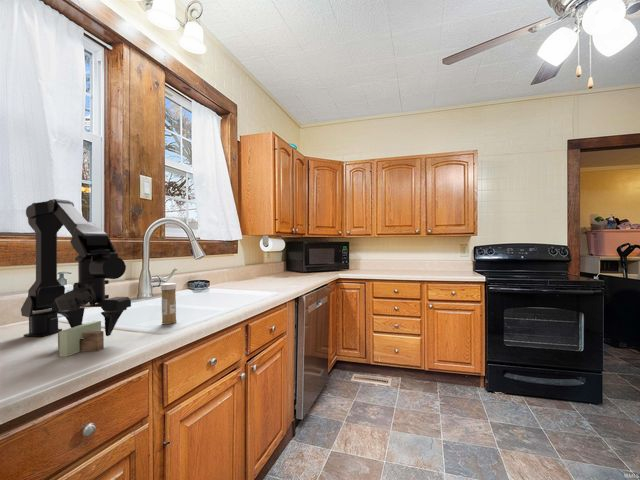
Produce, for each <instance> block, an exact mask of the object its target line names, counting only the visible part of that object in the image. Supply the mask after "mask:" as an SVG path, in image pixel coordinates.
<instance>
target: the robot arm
mask: <svg viewBox="0 0 640 480" xmlns="http://www.w3.org/2000/svg"><path fill="white" fill-rule="evenodd" d="M25 215H26V217H27V222H28V225H29V227H30V228H31V229H32V230H33V232H34V233H35V281H34V283H33V284H32V285H31V286H30V287H29V289H28V290H27V291H28V292H27V297H26V299H25V301H24V302H23V304H22V306H21V308H20V312H21V316H22V317H25V318H28V333H24V334H23V337H36V338H40V337H42V338H43V337H45V336H48V335H52V334H56V333H59V331H63V328H59V317H58V315H61V316H63V317H65V319H66V321H67V322H68V324H69V328H73V327H76V326H79V325H82V324H83V319H84V314H85V313H84V312H85V309H86V308H101V310H102V311H101V312H100V314H101V315H102V316H103V318H104V332H105V336H106V337H109V336H112V335H111V334H112V332H113V330H114V329H115V327H116V324H117V322H118V320H119V318H120V317H121V315H122V314H123V312H124V311H126V310H127V309H128V308H131V307H132V299H130V297H129V296H114V297H110V295H109V294H106V285H108V284H110V283H109V281H110V280H115V279H116V280H117V279H119V278H121V277H122V276H123V275H124V274H125V273H126V269H127V266H126V265H127V264H126V263H125V261H124V260H123V259H122V258H121V257H119V253H118V252H116V251H117V249H116V248H115V246H114V245H113V243H112V241H111V239H110V237H109V235H108V234H107V233H106V232H105V230H104V231H103V230H102V228H99V227H96V226H93V225H92V224H90V223H89V222H88V221H87V219H85V217H84V216H83V215H82V214H81V213H80V212H79V210H77V208H76V207H75V204H74V202H73V201H70V200H67V199H57V198H53V199H48V200H46V201H40V202H32V204H30V205H28V206H26V210H25ZM62 227H65V229H66V230H67V231H68V232H69V234H70V235H71V239H70V244H71V245H72V248H73V249H74V251H75V252H76V253H77V254H78V255H77V256H75V258H74V261H75V262H78V263H77V265H78V269H77V272H78V274H77V275H78V282H74V284H73V285H72V287H73V288H72V290H69V291H67V292H66V291H65V290H66V287H65V286H64V285H63V284H62V283H61V282H59V281H58V232H59V231H60V230H61V228H62ZM108 279H109V280H108Z"/></svg>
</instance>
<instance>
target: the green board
mask: <svg viewBox="0 0 640 480" xmlns="http://www.w3.org/2000/svg"><path fill="white" fill-rule="evenodd" d="M88 331H102V321H101V320H93V321H90V322H85V323H82V325H79V326H76V327H73V328H71V327H69V328H67V329H64V330H63V329H62V331H59V332H58V333H59V347H60V350H59V357H69V356H71V355H74V354H77V353H80V352H81V351H80V339H81V338H83V333H85V332H88Z"/></svg>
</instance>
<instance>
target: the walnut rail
mask: <svg viewBox="0 0 640 480" xmlns="http://www.w3.org/2000/svg"><path fill="white" fill-rule="evenodd" d="M104 332H105V330H101V331H88V332H85V333H83V338H81V339H80V351H79V352H99V351H101V350H103V349H104V347H105V346H104V345H105V343H104V340H105V339H104V337H105V336H104ZM57 351H60V347H59V332H57Z"/></svg>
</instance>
